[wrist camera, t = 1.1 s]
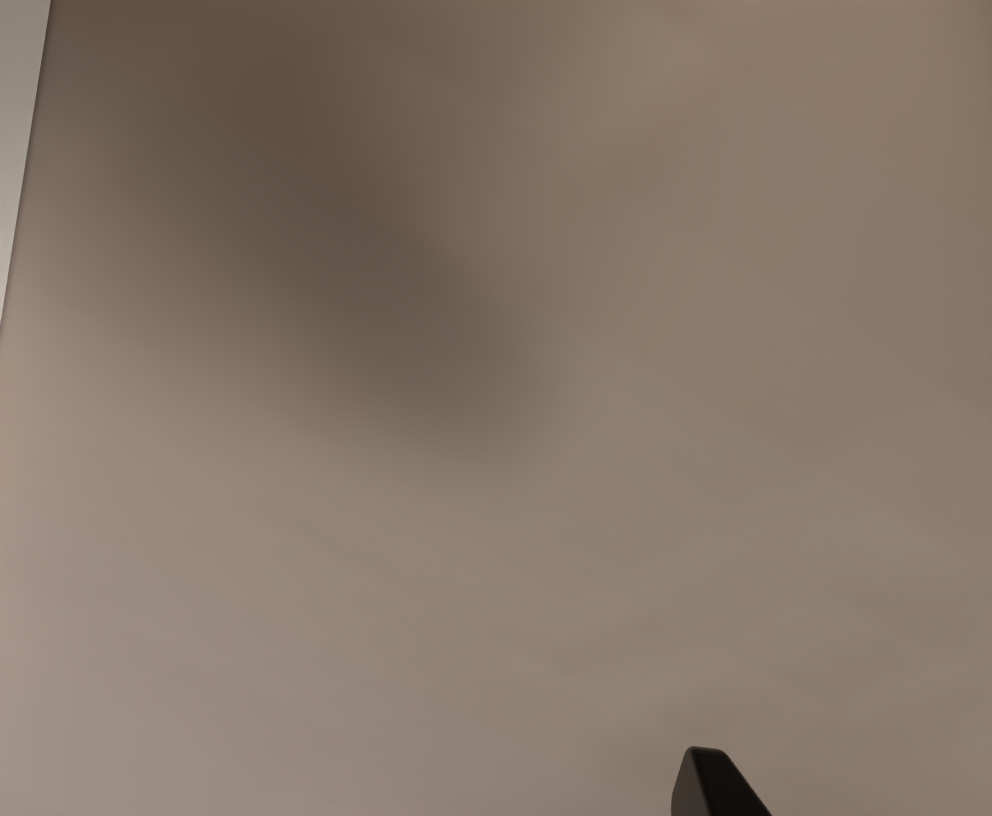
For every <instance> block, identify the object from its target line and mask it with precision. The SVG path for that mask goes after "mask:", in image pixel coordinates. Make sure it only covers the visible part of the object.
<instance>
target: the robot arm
mask: <svg viewBox="0 0 992 816" xmlns="http://www.w3.org/2000/svg"><path fill="white" fill-rule="evenodd" d="M671 816H772V815H771V813H770V812H769V811H768V809H767V808H766V807H765V805H764V804H763V802H762V801H761V800H760V798H759V797H758V796H757V794H756V793H755V792H754V790H753V789H752V788H751V786H750V785H749V784H748V782H747V781H746V779H745V778H744V777H743V775H742V774H741V773H740V771H739V770H738V769H737V767H736V766H735V765H734V763H733V762H732V760H731V759H730V758H729V756H728V755H727V754H726V753H725V752H723V751H722V750H719V749H714V748H705V747H697V746H692V747H689V748H688V749H687V750H686V752H685V754H684V757H683V761H682V764H681V767H680V770H679V773H678V776H677V780H676V783H675V786H674V789H673V793H672V801H671Z"/></svg>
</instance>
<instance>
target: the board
mask: <svg viewBox="0 0 992 816" xmlns="http://www.w3.org/2000/svg"><path fill="white" fill-rule="evenodd" d="M50 3H51V0H0V322H1V316H2V310H3V303H4V297H5V290H6V284H7V278H8V271H9V265H10V258H11V252H12V246H13V239H14V233H15V226H16V220H17V214H18V207H19V201H20V194H21V188H22V182H23V175H24V169H25V162H26V156H27V150H28V143H29V137H30V131H31V124H32V118H33V111H34V105H35V99H36V92H37V86H38V79H39V73H40V67H41V60H42V54H43V47H44V41H45V35H46V28H47V22H48V15H49V9H50Z"/></svg>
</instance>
